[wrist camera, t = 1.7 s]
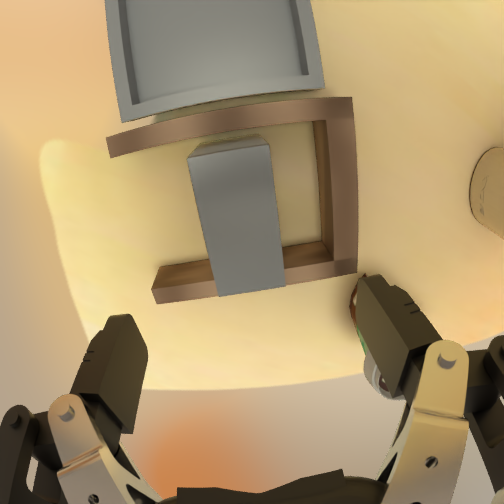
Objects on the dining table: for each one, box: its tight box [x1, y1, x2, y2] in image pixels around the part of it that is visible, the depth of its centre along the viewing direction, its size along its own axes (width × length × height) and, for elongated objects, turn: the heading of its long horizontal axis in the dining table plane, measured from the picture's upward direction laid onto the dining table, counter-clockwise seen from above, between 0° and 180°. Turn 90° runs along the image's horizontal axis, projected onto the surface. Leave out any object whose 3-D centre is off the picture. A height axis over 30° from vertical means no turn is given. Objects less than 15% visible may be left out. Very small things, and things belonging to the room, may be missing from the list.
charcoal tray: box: [105, 0, 325, 123], centre depth 15 cm, size 14×15×2 cm
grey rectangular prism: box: [187, 134, 286, 297], centre depth 20 cm, size 4×9×7 cm, turn 8°
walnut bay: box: [106, 97, 358, 304], centre depth 22 cm, size 16×14×4 cm
